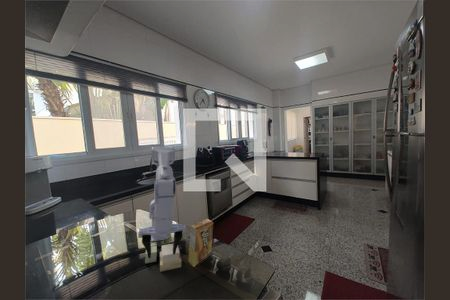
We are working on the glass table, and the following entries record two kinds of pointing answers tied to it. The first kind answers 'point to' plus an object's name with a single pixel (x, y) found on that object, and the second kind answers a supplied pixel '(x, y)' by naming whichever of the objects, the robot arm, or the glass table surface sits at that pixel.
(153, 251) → the block
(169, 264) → the slab bottom
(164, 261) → the slab top
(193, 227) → the candy box
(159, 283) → the glass table surface
